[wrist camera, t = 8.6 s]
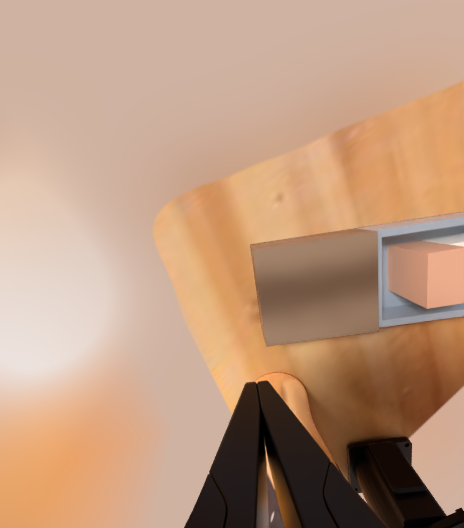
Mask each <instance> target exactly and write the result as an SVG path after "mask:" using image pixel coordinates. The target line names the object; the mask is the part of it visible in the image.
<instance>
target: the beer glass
mask: <svg viewBox="0 0 464 528" xmlns="http://www.w3.org/2000/svg"><path fill="white" fill-rule="evenodd" d="M265 380H267V381H269V382H270V384H271V385H272V386H273V388H274V389H275V390H276V391H277V393H278V394H279V395H280V396H281V398H282V399H283V400H284V401H285V403H286V404H287V405H288V407H289V408H290V409H291V410H292V412H293V413H294V414H295V415H296V417H297V418H298V419H299V421H300V422H301V423H302V424H303V426H304V427H305V428H306V429H307V431H308V432H309V433H310V434H311V436H312V437H313V438H314V440H315V441H316V442H317V443H318V445H319V446H320V447H321V448H322V450H323V451H324V452H325V454H326V455H327V456H328V457H329V459H330V460H331V462H333V463H334V465H335V466H336V467H337V469H338V470H339V471H340V469H339V468H338V466H337V464H336V462H335V461H334V459H333V457H332V456H331V454H330V452H329V450H328V449H327V447H326V445H325V444H324V442H323V440H322V438H321V437H320V435H319V433H318V431H317V429H316V427H315V425H314V423H313V420H312V417H311V413H310V408H309V402H308V397H307V393H306V390H305V388H304V386H303V385H302V383H301V382H300V381H299V380H298V379H296V378H295V377H293V376H291V375H288V374H285V373H271V374H267V375H264V376H262V377H260V378H259V379H257V380H256V381H255V382H256V383H257V382H258V381H265ZM265 449H266V447H265ZM266 461H267V487H268V515H269V528H284V524H283V520H282V516H281V512H280V508H279V504H278V500H277V496H276V491H275V487H274V483H273V479H272V475H271V471H270V467H269V462H268V458H267V453H266ZM340 472H341V471H340ZM341 474H342V473H341ZM342 475H343V474H342Z"/></svg>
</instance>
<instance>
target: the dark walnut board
mask: <svg viewBox="0 0 464 528" xmlns="http://www.w3.org/2000/svg"><path fill="white" fill-rule="evenodd" d="M250 248H251V255H252V262H253V269H254V276H255V284H256V291H257V298H258V305H259V312H260V319H261V327H262V331H263V335H264V339H265V343H266V346H274V345H281V344H289V343H296V342H304V341H311V340H318V339H326V338H333V337H341V336H348V335H355V334H363V333H370V332H378V331H379V309H378V231H372V230H364V229H356V228H355V229H348V230H342V231H335V232H329V233H322V234H316V235H310V236H303V237H297V238H290V239H284V240H277V241H271V242H264V243H258V244H251V245H250Z"/></svg>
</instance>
